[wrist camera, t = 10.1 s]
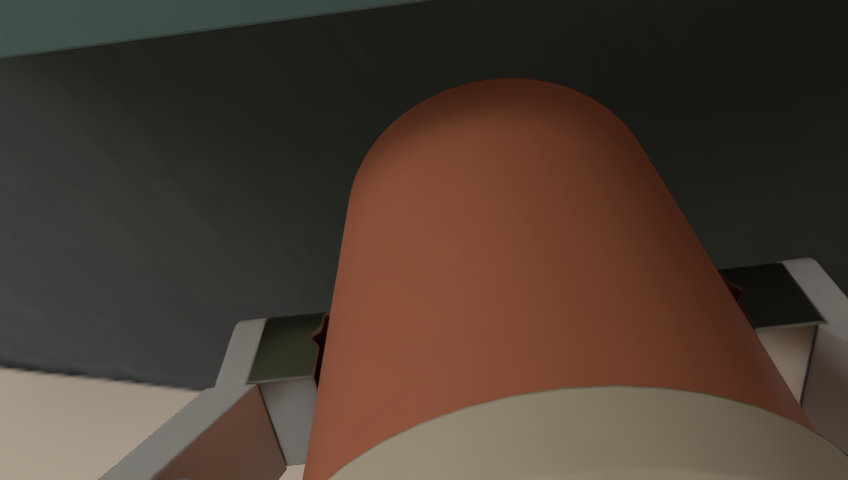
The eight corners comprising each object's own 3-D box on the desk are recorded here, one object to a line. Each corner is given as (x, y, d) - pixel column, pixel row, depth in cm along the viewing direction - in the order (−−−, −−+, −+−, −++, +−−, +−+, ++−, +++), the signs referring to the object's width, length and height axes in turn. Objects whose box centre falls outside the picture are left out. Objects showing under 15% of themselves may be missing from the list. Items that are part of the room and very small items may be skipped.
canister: (673, 43, 13) (1061, 434, 5) (658, 331, 16) (871, 819, 9) (305, 91, 13) (149, 519, 5) (368, 362, 17) (326, 851, 9)
